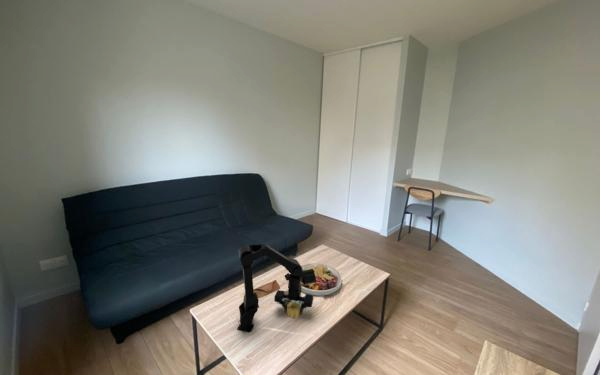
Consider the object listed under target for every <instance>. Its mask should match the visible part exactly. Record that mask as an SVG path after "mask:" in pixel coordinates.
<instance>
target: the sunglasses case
mask: <svg viewBox="0 0 600 375" xmlns="http://www.w3.org/2000/svg"><path fill="white" fill-rule="evenodd" d="M280 289H281V286H280V284H279V283H278V281H277V280H276V279H275V280H273V281H270V282H268V283H265V284H263V285H260V286H259V287H256V288H253V291H254V293H255V292H256V293H257V297H258V299H261V298H264V297H265V296H269V295H270V294H273V293H276V292H277V291H278V290H280Z"/></svg>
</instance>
